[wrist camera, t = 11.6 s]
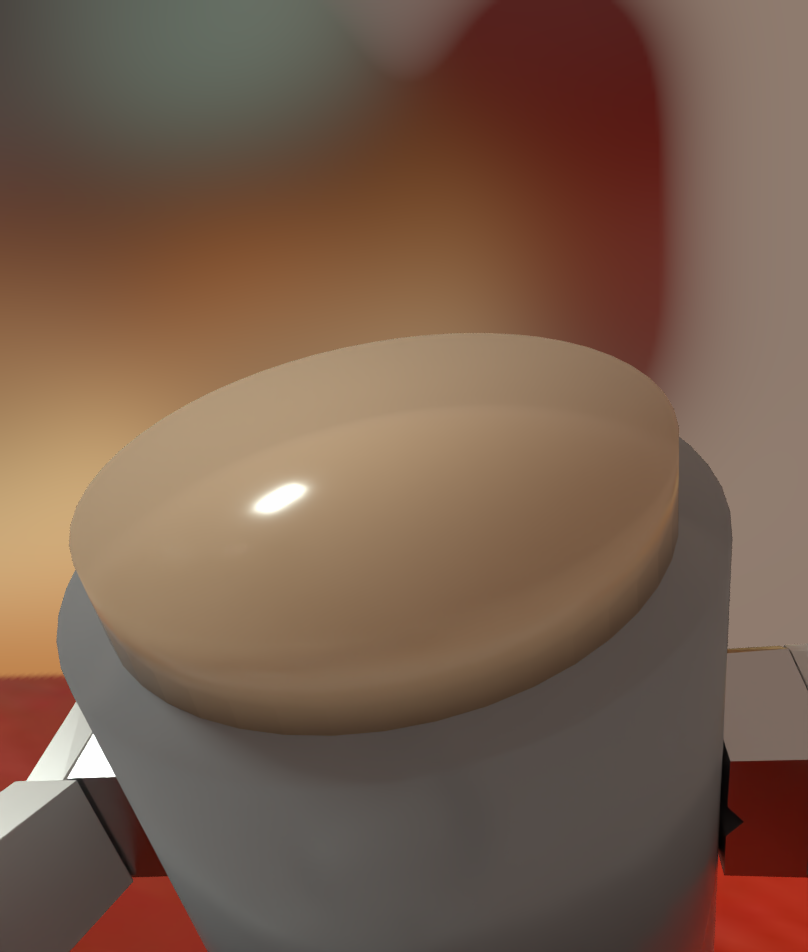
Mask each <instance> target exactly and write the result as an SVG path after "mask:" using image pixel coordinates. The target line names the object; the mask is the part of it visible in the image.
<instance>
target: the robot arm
mask: <svg viewBox="0 0 808 952" xmlns="http://www.w3.org/2000/svg"><path fill="white" fill-rule="evenodd" d="M718 854H719V857H720V861H721V865H722V868H723V872H724V875H730V876H768V877H806V878H808V644H795V645H784V646H783V647H782V646H766V647H749V648H732V649H727V669H726V691H725V713H724V736H723V758H722V780H721V802H720V824H719V847H718ZM158 876H168V875H167V873H166V871H165V869H164V867H163V866H162V864H161V862H160V860H159V858H158V856H157V854H156V852H155V850H154V848H153V846H152V845H151V843H150V841H149V839H148V837H147V835H146V833H145V831H144V829H143V827H142V826H141V824H140V822H139V820H138V818H137V816H136V814H135V812H134V810H133V808H132V807H131V805H130V803H129V801H128V799H127V797H126V795H125V793H124V791H123V789H122V788H121V786H120V784H119V782H118V780H117V778H116V776H115V774H114V772H113V770H112V768H111V767H110V765H109V763H108V761H107V759H106V757H105V755H104V753H103V751H102V749H101V748H100V746H99V744H98V742H97V740H96V738H95V736H94V734H93V732H92V730H91V729H90V727H89V725H88V723H87V721H86V719H85V717H84V715H83V713H82V711H81V710H80V708H79V706H78V704H77V702H76V703H75V705H74V706H73V708H72V709H71V711H70V712H69V714H68V716H67V717H66V719H65V720H64V722H63V724H62V725H61V727H60V728H59V730H58V731H57V733H56V735H55V736H54V738H53V739H52V741H51V743H50V744H49V746H48V747H47V749H46V750H45V752H44V754H43V755H42V757H41V758H40V760H39V762H38V763H37V765H36V766H35V768H34V769H33V771H32V773H31V774H30V776H29V777H28V779H27V781H17V782H14V783H13V784H11V785H10V786H8V787H7V788H6V789H4V790H3V791H2V792H0V952H69V951H70V950H71V949H72V948H73V947H74V946H75V945H76V944H77V943H78V942H79V940H80V939H81V938H82V937H83V936H84V935H85V934H86V933H87V932H88V931H89V929H90V928H91V927H92V926H93V925H94V924H95V923H96V922H97V921H98V920H99V918H100V917H101V916H102V915H103V914H104V913H105V912H106V911H107V910H108V909H109V907H110V906H111V905H112V904H113V903H114V902H115V901H116V900H117V899H118V898H119V896H120V895H121V894H122V893H123V892H124V891H125V890H126V889H127V888H128V887H129V885H130V884H131V883H132V882H133V879H132V877H158Z"/></svg>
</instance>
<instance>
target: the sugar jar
mask: <svg viewBox="0 0 808 952" xmlns="http://www.w3.org/2000/svg"><path fill="white" fill-rule="evenodd" d="M69 547H70V552H71V556H72V561H73V565H74V567H75V569H76V570H75V572H74V574H73V576H72V578H71V580H70V582H69V584H68V586H67V588H66V591H65V595H64V598H63V601H62V606H61V608H60V612H59V616H58V630H57V647H58V653H59V659H60V665H61V669H62V672H63V674H64V676H65V678H66V681H67V683H68V685H69V687H70V690H71V692H72V694H73V696H74V698H75V700H76V702H77V704H78V706H79V708H80V710H81V711H82V713H83V715H84V717H85V719H86V721H87V723H88V725H89V727H90V729H91V730H92V732H93V734H94V736H95V738H96V740H97V742H98V744H99V746H100V748H101V749H102V751H103V753H104V755H105V757H106V759H107V761H108V763H109V765H110V767H111V768H112V770H113V772H114V774H115V776H116V778H117V780H118V782H119V784H120V786H121V788H122V789H123V791H124V793H125V795H126V797H127V799H128V801H129V803H130V805H131V807H132V808H133V810H134V812H135V814H136V816H137V818H138V820H139V822H140V824H141V826H142V827H143V829H144V831H145V833H146V835H147V837H148V839H149V841H150V843H151V845H152V846H153V848H154V850H155V852H156V854H157V856H158V858H159V860H160V862H161V864H162V866H163V867H164V869H165V871H166V873H167V875H168V877H169V879H170V881H171V883H172V885H173V886H174V888H175V890H176V892H177V894H178V896H179V898H180V900H181V902H182V904H183V905H184V907H185V909H186V911H187V913H188V915H189V917H190V919H191V921H192V923H193V925H194V926H195V928H196V930H197V932H198V934H199V936H200V938H201V940H202V942H203V944H204V945H205V947H206V949H207V951H208V952H714V936H715V913H716V891H717V869H718V847H719V824H720V802H721V780H722V758H723V736H724V713H725V691H726V669H727V646H728V624H729V601H730V579H731V557H732V529H731V517H730V510H729V507H728V504H727V501H726V498H725V495H724V492H723V489H722V486H721V485H720V483H719V481H718V480H717V478H716V477H715V475H714V473H713V472H712V470H711V468H710V467H709V466H708V464H707V463H706V462H705V461H704V460H703V459H702V458H701V456H700V455H698V453H697V452H696V451H695V450H694V449H693V448H692V447H691V446H690V445H689V444H688V443H686V442H685V441H684V440H682V439H681V438H680V437H679V426H678V422H677V419H676V415H675V412H674V408H673V407H672V405H671V404H670V402H669V400H668V399H667V397H666V396H665V394H664V392H663V391H662V390H661V389H660V388H659V387H658V386H657V385H656V384H655V383H654V382H653V381H652V380H651V379H650V378H649V377H647V376H646V375H644V374H643V373H642V372H640V371H638V370H637V369H636V368H634V367H633V366H631V365H629V364H627V363H625V362H623V361H621V360H619V359H617V358H615V357H613V356H611V355H608V354H605V353H602V352H600V351H597V350H594V349H591V348H588V347H585V346H581V345H577V344H573V343H569V342H565V341H559V340H553V339H548V338H542V337H534V336H524V335H515V334H495V333H454V334H438V335H425V336H415V337H406V338H397V339H391V340H385V341H377V342H371V343H366V344H361V345H356V346H351V347H346V348H341V349H337V350H333V351H329V352H325V353H320V354H316V355H313V356H310V357H306V358H302V359H299V360H295V361H292V362H288V363H286V364H283V365H280V366H277V367H274V368H270V369H267V370H264V371H261V372H259V373H256V374H254V375H251V376H249V377H246V378H243V379H241V380H239V381H236V382H233V383H231V384H229V385H227V386H224V387H222V388H220V389H218V390H216V391H213V392H211V393H209V394H207V395H205V396H203V397H201V398H199V399H197V400H195V401H193V402H191V403H189V404H187V405H185V406H184V407H182V408H180V409H179V410H177V411H175V412H174V413H172V414H170V415H168V416H167V417H165V418H163V419H162V420H160V421H159V422H157V423H156V424H154V425H153V426H151V427H150V428H148V429H147V430H146V431H144V432H143V433H141V434H140V435H138V436H137V437H136V438H135V439H134V440H133V441H131V442H130V443H129V444H127V445H126V446H125V447H124V448H123V449H121V450H120V451H119V452H118V453H117V454H116V455H115V456H114V457H113V458H112V459H111V460H110V461H109V462H108V463H107V464H106V465H105V466H104V467H103V468H102V469H101V470H100V472H99V473H98V474H97V475H96V477H95V478H94V479H93V480H92V482H91V483H90V484H89V486H88V487H87V489H86V490H85V492H84V494H83V496H82V498H81V499H80V501H79V503H78V505H77V507H76V510H75V513H74V516H73V519H72V522H71V525H70V539H69Z"/></svg>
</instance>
